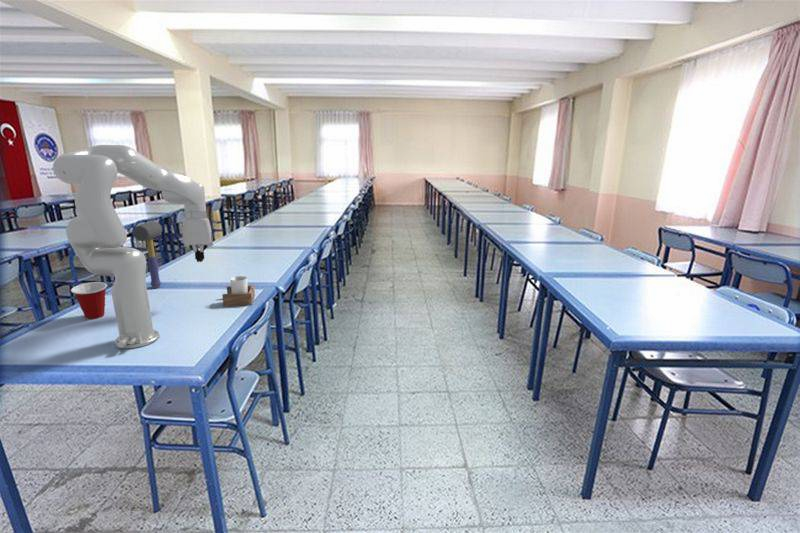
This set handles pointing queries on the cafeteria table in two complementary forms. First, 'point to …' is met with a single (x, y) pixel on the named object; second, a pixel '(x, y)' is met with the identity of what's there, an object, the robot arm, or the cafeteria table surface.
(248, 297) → the box
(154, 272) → the rubber mallet
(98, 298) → the plastic cup
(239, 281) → the white paper cup
